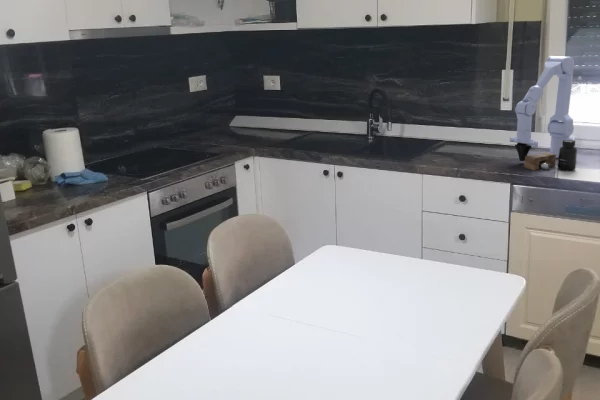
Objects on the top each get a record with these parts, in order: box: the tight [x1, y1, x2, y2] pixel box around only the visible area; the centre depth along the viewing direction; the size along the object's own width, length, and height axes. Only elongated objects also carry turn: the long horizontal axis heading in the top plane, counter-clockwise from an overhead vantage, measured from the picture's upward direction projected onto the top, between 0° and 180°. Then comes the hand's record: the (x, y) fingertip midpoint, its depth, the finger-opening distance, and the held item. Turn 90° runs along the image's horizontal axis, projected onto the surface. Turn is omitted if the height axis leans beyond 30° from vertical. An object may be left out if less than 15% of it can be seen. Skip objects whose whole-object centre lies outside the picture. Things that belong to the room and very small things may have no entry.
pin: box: [539, 162, 551, 171], centre depth 260 cm, size 9×6×3 cm, turn 25°
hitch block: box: [524, 152, 557, 171], centre depth 261 cm, size 12×5×5 cm, turn 115°
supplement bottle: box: [557, 139, 578, 172], centre depth 254 cm, size 7×7×12 cm
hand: (522, 160), depth 269 cm, fingers closed
